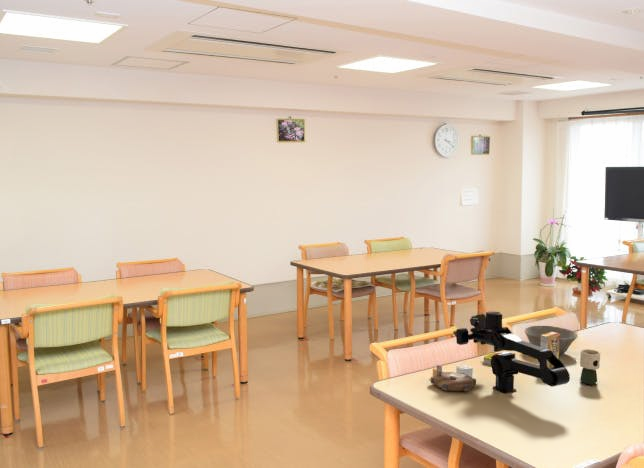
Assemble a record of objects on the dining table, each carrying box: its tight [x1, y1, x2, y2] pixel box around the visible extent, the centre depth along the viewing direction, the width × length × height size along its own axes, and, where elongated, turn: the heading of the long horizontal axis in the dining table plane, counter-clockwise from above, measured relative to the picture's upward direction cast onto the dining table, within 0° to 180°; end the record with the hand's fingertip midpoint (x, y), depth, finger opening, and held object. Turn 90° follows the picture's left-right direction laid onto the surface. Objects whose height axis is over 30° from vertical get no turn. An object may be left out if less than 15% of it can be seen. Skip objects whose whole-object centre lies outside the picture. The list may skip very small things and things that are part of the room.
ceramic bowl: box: [524, 325, 578, 355], centre depth 281 cm, size 22×23×10 cm
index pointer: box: [432, 367, 437, 377], centre depth 246 cm, size 2×2×4 cm
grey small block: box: [455, 364, 474, 378], centre depth 248 cm, size 4×5×4 cm
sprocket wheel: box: [430, 364, 477, 392], centre depth 236 cm, size 17×16×6 cm
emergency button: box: [480, 352, 499, 366], centre depth 265 cm, size 9×4×15 cm
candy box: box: [540, 332, 560, 367], centre depth 257 cm, size 9×4×15 cm, turn 129°
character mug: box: [579, 348, 601, 386], centre depth 241 cm, size 11×7×13 cm, turn 135°
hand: (462, 331), depth 254 cm, fingers open, 9 cm apart
